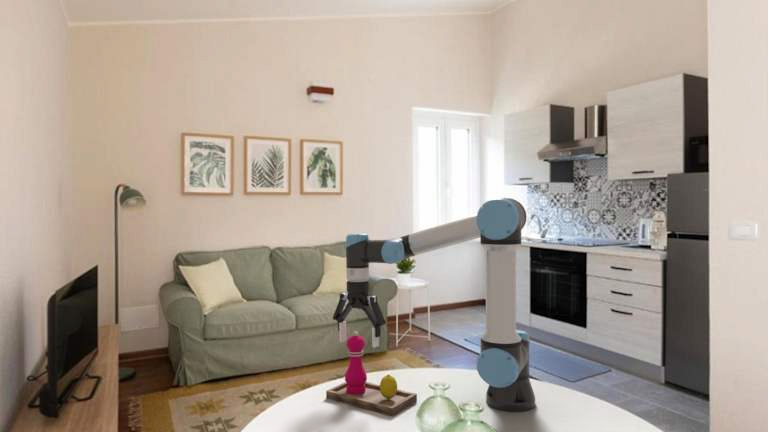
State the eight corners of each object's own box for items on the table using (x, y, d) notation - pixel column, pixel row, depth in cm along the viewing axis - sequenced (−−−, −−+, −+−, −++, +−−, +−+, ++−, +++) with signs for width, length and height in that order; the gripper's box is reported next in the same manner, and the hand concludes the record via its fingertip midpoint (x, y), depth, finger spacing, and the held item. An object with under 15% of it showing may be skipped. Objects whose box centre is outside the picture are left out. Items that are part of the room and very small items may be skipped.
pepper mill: (365, 395, 165) (365, 333, 164) (343, 395, 165) (343, 333, 165) (367, 387, 172) (367, 328, 172) (346, 387, 172) (346, 328, 172)
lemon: (384, 404, 157) (384, 378, 157) (377, 398, 162) (377, 373, 162) (400, 401, 160) (400, 376, 159) (392, 395, 165) (392, 370, 164)
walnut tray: (416, 401, 163) (416, 394, 163) (392, 416, 152) (392, 408, 151) (353, 385, 178) (352, 378, 178) (326, 398, 166) (326, 390, 166)
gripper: (321, 279, 173) (323, 341, 173) (382, 284, 159) (383, 351, 159) (336, 276, 179) (337, 336, 180) (395, 281, 165) (396, 346, 166)
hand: (359, 344), depth 169 cm, fingers open, 13 cm apart
